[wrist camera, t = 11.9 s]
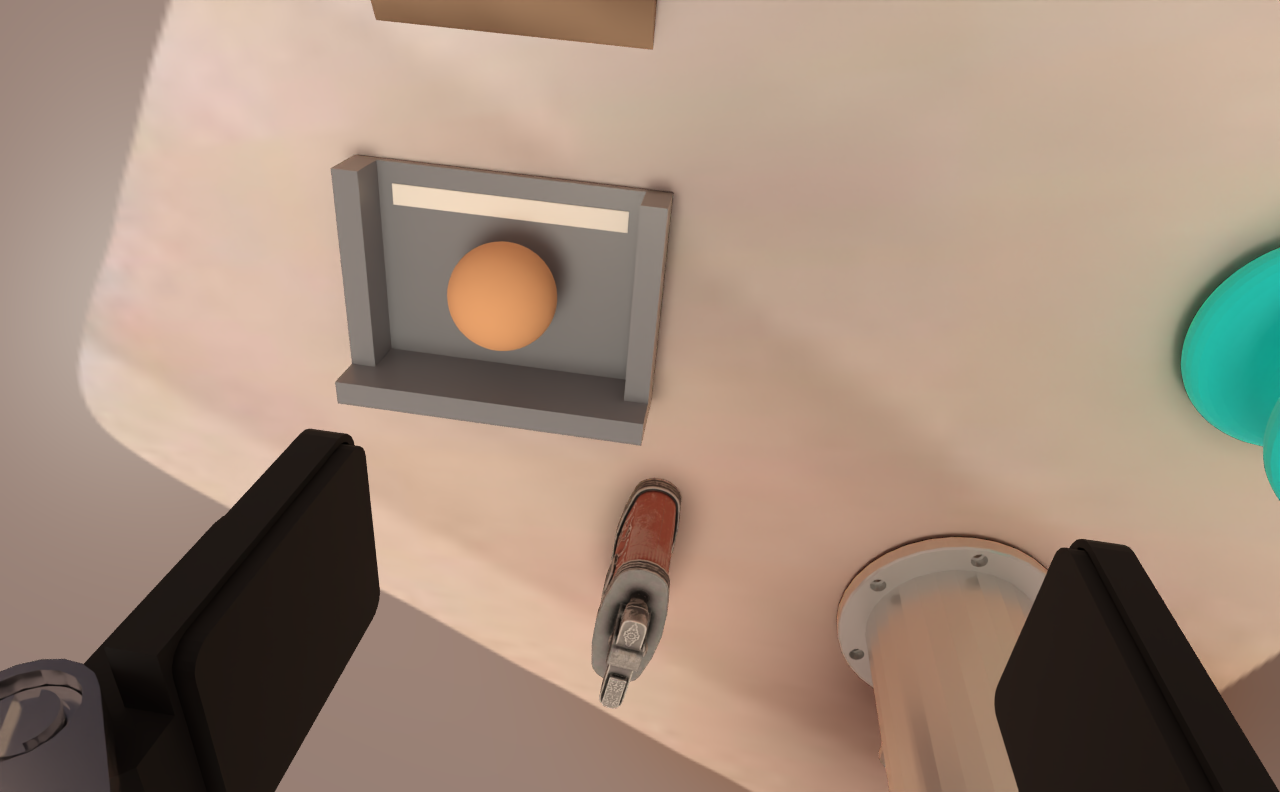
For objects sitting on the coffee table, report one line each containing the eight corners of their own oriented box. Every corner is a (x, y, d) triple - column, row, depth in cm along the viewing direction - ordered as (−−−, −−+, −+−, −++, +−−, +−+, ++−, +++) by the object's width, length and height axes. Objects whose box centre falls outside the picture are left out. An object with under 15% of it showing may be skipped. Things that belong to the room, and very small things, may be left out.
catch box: (651, 399, 43) (641, 445, 39) (374, 362, 43) (337, 403, 40) (673, 192, 37) (663, 222, 33) (354, 154, 38) (310, 179, 34)
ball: (557, 228, 35) (545, 337, 34) (566, 269, 40) (556, 366, 39) (443, 218, 35) (428, 328, 34) (466, 261, 40) (453, 358, 39)
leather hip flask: (633, 471, 45) (603, 599, 36) (692, 487, 45) (676, 619, 36) (603, 575, 49) (571, 713, 40) (657, 590, 49) (636, 730, 41)
